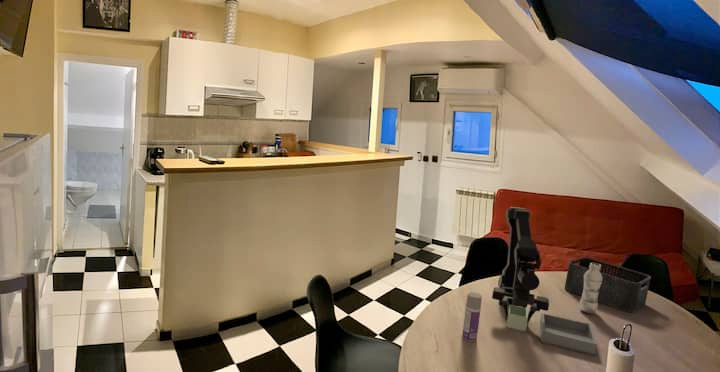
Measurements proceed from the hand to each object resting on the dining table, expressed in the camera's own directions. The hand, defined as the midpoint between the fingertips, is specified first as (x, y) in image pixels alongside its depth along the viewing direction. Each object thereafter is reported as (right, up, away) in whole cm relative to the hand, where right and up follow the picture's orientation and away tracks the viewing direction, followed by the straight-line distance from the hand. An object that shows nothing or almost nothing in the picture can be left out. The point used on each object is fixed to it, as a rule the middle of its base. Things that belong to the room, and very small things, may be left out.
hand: (516, 320), depth 149 cm
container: (-21, -2, -13) cm, 24 cm away
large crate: (+14, -3, -8) cm, 16 cm away
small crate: (0, -1, 0) cm, 1 cm away
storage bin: (+52, -1, +35) cm, 62 cm away
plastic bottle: (+35, -2, +16) cm, 38 cm away
